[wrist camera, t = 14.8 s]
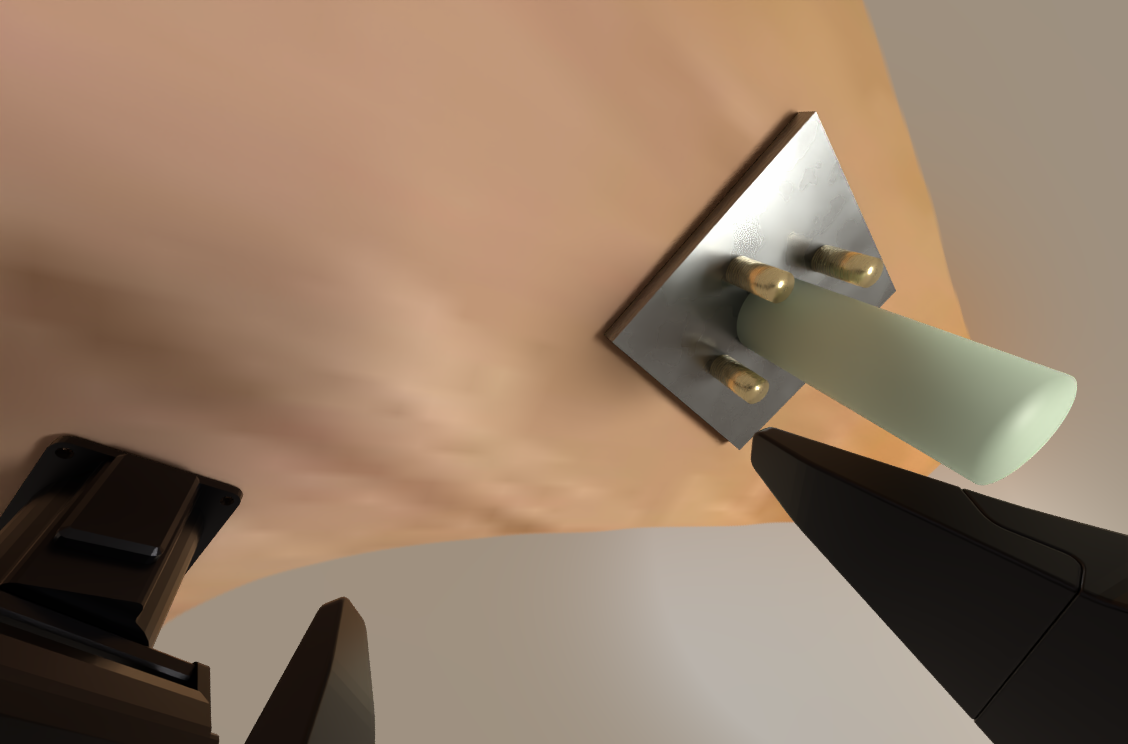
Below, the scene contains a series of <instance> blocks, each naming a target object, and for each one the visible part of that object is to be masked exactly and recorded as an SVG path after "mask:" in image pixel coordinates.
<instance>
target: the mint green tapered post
mask: <svg viewBox="0 0 1128 744" xmlns="http://www.w3.org/2000/svg"><path fill="white" fill-rule="evenodd" d="M794 279H795V283H794V288H793V290H792V292H791V294H790V295H789V296H788V297H787V298H786V299H785V300H784V301H782V302H780V303H772V302H770V301H768V300H766V299H763V298H761V297H759V296H757V295H754V294H752V293H750V294H749V295H748V297H747V298H746V300H745V301H744V303H743V305H742V307H741V309H740V312H739V315H738V319H737V335H738V338H739V340H740V342H741V343H742V344H743V345H744V346H745V347H746V348H748V349H750V350H751V351H753V352H755V353H756V354H758V355H760V356H762V357H763V358H765V359H767V360H768V361H770V362H772V363H773V364H775V365H777V366H778V367H780V368H782V369H783V370H785V371H787V372H788V373H790V374H792V375H793V376H795V377H797V378H799V379H800V380H802V381H804V382H805V383H807V384H809V385H810V386H812V387H814V388H815V389H817V390H819V391H820V392H822V393H824V394H825V395H827V396H829V397H830V398H832V399H834V400H836V401H837V402H839V403H841V404H842V405H844V406H846V407H847V408H849V409H851V410H852V411H854V412H856V413H857V414H859V415H861V416H862V417H864V418H866V419H867V420H869V421H871V422H873V423H874V424H876V425H878V426H879V427H881V428H883V429H884V430H886V431H888V432H889V433H891V434H893V435H894V436H896V437H898V438H899V439H901V440H903V441H904V442H906V443H908V444H909V445H911V446H913V447H915V448H916V449H918V450H920V451H921V452H923V453H925V454H926V455H928V456H930V457H931V458H933V459H935V460H936V461H938V462H940V463H941V464H943V465H945V466H946V467H948V468H950V469H952V470H953V471H955V472H957V473H958V474H960V475H962V476H963V477H965V478H967V479H968V480H970V481H972V482H973V483H975V484H978V485H988V484H991V483H994V482H997V481H999V480H1001V479H1003V478H1005V477H1006V476H1008V475H1010V474H1011V473H1013V472H1014V471H1016V470H1017V469H1018V468H1020V467H1021V466H1022V465H1023V464H1025V463H1026V462H1027V461H1028V460H1029V459H1030V458H1032V457H1033V456H1034V455H1035V454H1036V453H1037V452H1038V451H1039V450H1040V449H1041V448H1042V447H1043V446H1044V445H1045V444H1046V442H1047V441H1048V440H1049V439H1050V437H1052V435H1053V434H1054V433H1055V432H1056V430H1057V429H1058V428H1059V426H1060V425H1061V423H1062V422H1063V420H1064V419H1065V417H1066V416H1067V414H1068V412H1069V410H1070V408H1071V406H1072V404H1073V402H1074V399H1075V396H1076V391H1077V382H1076V380H1075V378H1074V377H1073V376H1071V375H1068V374H1065V373H1062V372H1059V371H1057V370H1054V369H1051V368H1048V367H1045V366H1043V365H1040V364H1036V363H1034V362H1031V361H1028V360H1026V359H1023V358H1020V357H1017V356H1014V355H1011V354H1009V353H1006V352H1003V351H1000V350H997V349H994V348H992V347H989V346H986V345H983V344H980V343H977V342H974V341H972V340H969V339H966V338H963V337H961V336H958V335H955V334H952V333H949V332H946V331H944V330H941V329H938V328H935V327H932V326H929V325H927V324H924V323H921V322H918V321H915V320H912V319H910V318H907V317H904V316H901V315H898V314H896V313H893V312H890V311H887V310H884V309H881V308H879V307H876V306H873V305H870V304H867V303H864V302H862V301H859V300H856V299H853V298H850V297H847V296H845V295H842V294H839V293H836V292H833V291H830V290H828V289H825V288H822V287H819V286H816V285H814V284H811V283H808V282H805V281H802V280H799V279H797V278H794Z"/></svg>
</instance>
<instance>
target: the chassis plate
mask: <svg viewBox="0 0 1128 744" xmlns="http://www.w3.org/2000/svg"><path fill="white" fill-rule="evenodd" d="M794 278H797V279H799V280H802V281H805V282H808V283H811V284H814V285H816V286H819V287H822V288H825V289H828V290H830V291H833V292H836V293H839V294H842V295H845V296H847V297H850V298H853V299H856V300H859V301H862V302H864V303H867V304H870V305H873V306H876V307H879V308H880V307H881V306H882V305H883V304H884V303H885V302H886V300H887V299H888V298H889V297H890V296H891V295H892V294H893V293H894V292H895V291H896V290H895V288H894V285H893V283H892V281H891V279H890V276H889V274H888V272H887V270H886V267H885V265H884V263H883V261H882V258H881V256H880V254H879V252H878V249H877V247H876V245H875V243H874V240H873V238H872V236H871V234H870V231H869V229H868V227H867V225H866V223H865V220H864V218H863V216H862V214H861V211H860V209H859V207H858V205H857V202H856V200H855V198H854V196H853V193H852V191H851V189H850V187H849V184H848V182H847V180H846V178H845V175H844V173H843V171H842V169H841V166H840V164H839V162H838V160H837V157H836V155H835V153H834V151H833V148H832V146H831V144H830V142H829V139H828V137H827V135H826V133H825V130H824V128H823V126H822V124H821V121H820V119H819V117H818V115H817V113H816V111H814V112H799V113H798V114H797V115H796V116H795V117H794V118H793V119H792V121H791V122H790V123H789V124H788V125H787V126H786V127H785V129H784V130H783V131H782V132H781V133H780V134H779V135H778V137H777V138H776V139H775V140H774V141H773V142H772V143H771V145H770V146H769V147H768V148H767V149H766V150H765V151H764V153H763V154H762V155H761V156H760V157H759V158H758V159H757V161H756V162H755V163H754V164H753V165H752V166H751V167H750V169H749V170H748V171H747V172H746V173H745V174H744V175H743V177H742V178H741V179H740V180H739V181H738V182H737V183H736V185H735V186H734V187H733V188H732V189H731V190H730V191H729V193H728V194H727V195H726V196H725V197H724V198H723V199H722V201H721V202H720V203H719V204H718V205H717V206H716V207H715V209H714V210H713V211H712V212H711V213H710V214H709V215H708V216H707V218H706V219H705V220H704V221H703V222H702V223H701V224H700V226H699V227H698V228H697V229H696V230H695V231H694V232H693V234H692V235H691V236H690V237H689V238H688V239H687V240H686V242H685V243H684V244H683V245H682V246H681V247H680V248H679V250H678V251H677V252H676V253H675V254H674V255H673V256H672V258H671V259H670V260H669V261H668V262H667V263H666V264H665V266H664V267H663V268H662V269H661V270H660V271H659V272H658V274H657V275H656V276H655V277H654V278H653V279H652V280H651V282H650V283H649V284H648V285H647V286H646V287H645V288H644V290H643V291H642V292H641V293H640V294H639V295H638V296H637V298H636V299H635V300H634V301H633V302H632V303H631V304H630V306H629V307H628V308H627V309H626V310H625V311H624V312H623V314H622V315H621V316H620V317H619V318H618V319H617V320H616V322H615V323H614V324H613V325H612V326H611V327H610V328H609V330H608V331H607V332H606V333H605V334H604V335H605V336H606V337H607V338H608V339H609V340H611V341H612V342H613V343H614V344H615V345H616V346H617V347H619V348H620V349H621V350H622V351H623V352H624V353H626V354H627V355H628V356H629V357H630V358H632V359H633V360H634V361H635V362H636V363H637V364H639V365H640V366H641V367H642V368H643V369H645V370H646V371H647V372H648V373H649V374H650V375H652V376H653V377H654V378H655V379H656V380H658V381H659V382H660V383H661V384H662V385H663V386H665V387H666V388H667V389H668V390H669V391H671V392H672V393H673V394H674V395H675V396H676V397H678V398H679V399H680V400H681V401H682V402H683V403H685V404H686V405H687V406H688V407H689V408H691V409H692V410H693V411H694V412H695V413H696V414H698V415H699V416H700V417H701V418H702V419H704V420H705V421H706V422H707V423H708V424H709V425H711V426H712V427H713V428H714V429H715V430H717V431H718V432H719V433H720V434H721V435H722V436H724V437H725V438H726V439H727V440H728V441H730V442H731V443H732V444H733V445H734V446H735V447H737V448H738V449H739V450H740V449H741V448H742V447H743V446H744V445H745V444H746V443H747V442H748V441H749V440H750V439H751V438H752V437H753V435H754V434H755V433H756V432H757V431H759V430H760V429H761V428H762V427H763V426H764V425H765V424H766V423H767V422H768V421H769V420H770V419H771V418H772V417H773V416H774V414H775V413H776V412H777V411H778V410H779V409H780V408H781V407H782V406H783V405H784V404H785V403H786V402H787V401H788V400H789V399H790V398H791V397H792V396H793V395H794V394H795V393H796V392H797V391H798V390H799V389H800V388H801V387H802V386H803V385H804V384H805V382H804V381H802V380H800V379H799V378H797V377H795V376H793V375H792V374H790V373H788V372H787V371H785V370H783V369H782V368H780V367H778V366H777V365H775V364H773V363H772V362H770V361H768V360H767V359H765V358H763V357H762V356H760V355H758V354H756V353H755V352H753V351H751V350H750V349H748V348H746V347H745V346H744V345H743V344H742V343H741V342H740V340H739V338H738V335H737V319H738V315H739V312H740V309H741V307H742V305H743V303H744V301H745V300H746V298H747V297H748V295H749V294H750V293H752V294H754V295H757V296H759V297H761V298H763V299H766V300H768V301H770V302H772V303H780V302H782V301H784V300H785V299H786V298H787V297H788V296H789V295H790V294H791V292H792V290H793V288H794V283H795V279H794Z"/></svg>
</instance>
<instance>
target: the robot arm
mask: <svg viewBox="0 0 1128 744" xmlns="http://www.w3.org/2000/svg"><path fill="white" fill-rule="evenodd" d="M62 448H68V449H70V450H72V451H73V452H67V451H65V450H63V449H62ZM751 463H752V465H753V467H754V469H755V470H756V472H757V473H758V474H759V476H760V477H761V478H762V480H763V481H764V483H765V484H766V485H767V487H768V488H769V489H770V491H771V492H772V493H773V495H774V496H775V497H776V499H777V500H778V501H779V503H780V504H781V505H782V507H783V508H784V509H785V511H786V512H787V513H788V515H789V516H790V517H791V519H792V520H793V521H794V522H795V524H796V525H797V526H798V527H799V528H800V529H801V531H802V532H803V533H804V534H805V535H806V536H807V537H808V538H809V539H810V541H811V542H812V543H813V544H814V545H815V546H816V547H817V548H818V549H819V551H820V552H821V553H822V554H823V555H824V556H825V557H826V558H827V559H828V560H829V562H830V563H831V564H832V565H833V566H834V567H835V568H836V569H837V570H838V572H839V573H840V574H841V575H842V576H843V577H844V578H845V579H846V580H847V581H848V582H849V584H850V585H851V586H852V587H853V588H854V589H855V590H856V591H857V592H858V594H859V595H860V596H861V597H862V598H863V599H864V600H865V601H866V602H867V604H868V605H869V606H870V607H871V608H872V609H873V610H874V611H875V612H876V613H877V614H878V616H879V617H880V618H881V619H882V620H883V621H884V622H885V623H886V625H887V626H888V627H889V628H890V629H891V630H892V631H893V632H894V633H895V634H896V636H898V638H899V639H900V640H901V641H902V642H903V643H904V644H905V646H906V647H907V648H908V649H909V650H910V651H911V652H912V653H913V654H914V656H916V658H917V659H918V660H919V661H920V662H921V663H922V664H923V666H924V667H925V668H926V669H927V670H928V671H929V672H930V673H931V674H932V675H933V676H934V678H935V679H936V680H937V681H938V682H939V683H940V684H941V685H942V686H943V688H945V690H946V691H947V692H948V693H949V694H950V695H951V696H952V698H953V699H954V700H955V701H956V702H957V703H958V704H959V705H960V706H961V707H962V709H963V710H964V711H965V712H966V713H967V714H968V715H969V716H970V717H971V718H972V719H974V722H975V723H976V724H977V726H978V727H979V728H980V729H981V730H982V731H983V732H984V733H985V734H986V736H987V737H988V738H989V739H990V740H991V741H992V742H993V743H994V744H1128V535H1125V534H1122V533H1118V532H1114V531H1110V530H1107V529H1103V528H1099V527H1095V526H1091V525H1088V524H1084V523H1080V522H1076V521H1073V520H1069V519H1065V518H1061V517H1058V516H1054V515H1050V514H1047V513H1043V512H1040V511H1036V510H1032V509H1029V508H1025V507H1022V506H1019V505H1015V504H1012V503H1009V502H1006V501H1002V500H999V499H996V498H992V497H989V496H986V495H983V494H980V493H977V492H974V491H971V490H967V489H961V488H960V487H958V486H954V485H951V484H948V483H945V482H942V481H939V480H936V479H932V478H930V477H927V476H923V475H920V474H917V473H914V472H911V471H908V470H905V469H902V468H898V467H895V466H892V465H889V464H886V463H883V462H880V461H877V460H874V459H870V458H867V457H864V456H861V455H858V454H855V453H852V452H849V451H846V450H842V449H839V448H836V447H833V446H830V445H827V444H824V443H821V442H817V441H814V440H811V439H808V438H805V437H802V436H799V435H796V434H793V433H789V432H786V431H783V430H780V429H777V428H773V427H768V428H765V429H763V430H760V431H757V432H756V433H755V434H754V435H753V440H752V450H751ZM224 497H231V498H233V499H226V498H224ZM242 497H243V493H242V491H241V490H240V489H239V488H237V487H234V486H231V485H228V484H224V483H221V482H218V481H215V480H212V479H208V478H205V477H202V476H199V475H196V474H193V473H189V472H186V471H183V470H180V469H177V468H173V467H170V466H167V465H164V464H161V463H157V462H154V461H151V460H148V459H145V458H141V457H138V456H135V455H132V454H129V453H126V452H122V451H119V450H116V449H113V448H110V447H106V446H103V445H100V444H97V443H94V442H90V441H87V440H84V439H81V438H78V437H73V436H63V437H60V438H57V439H56V440H55V441H54V442H53V443H52V444H51V445H50V446H48V447H47V449H46V450H45V452H44V453H43V455H42V456H41V458H40V459H39V461H38V462H37V463H36V465H35V466H34V468H33V469H32V471H31V472H30V474H29V475H28V477H27V478H26V480H25V481H24V483H23V484H22V486H21V487H20V489H19V490H18V492H17V493H16V495H15V496H14V498H13V499H12V501H11V502H10V504H9V505H8V507H7V508H6V510H5V511H4V513H3V514H2V516H1V517H0V744H219V736H218V735H217V734H214V733H211V728H212V727H211V701H210V667H209V666H206V665H204V664H201V663H199V662H194V663H189V662H187V661H184V660H181V659H179V658H176V657H173V656H171V655H168V654H166V653H163V652H161V651H158V650H156V649H153V646H154V644H155V641H156V639H157V637H158V634H159V632H160V630H161V628H162V625H163V623H164V621H165V618H166V616H167V614H168V612H169V609H170V607H171V605H172V602H173V600H174V598H175V596H176V593H177V591H178V589H179V586H180V584H181V582H182V580H183V577H184V575H185V574H186V573H187V571H188V570H189V569H190V568H191V566H192V565H193V564H194V562H195V561H196V560H197V558H198V557H199V556H200V555H201V553H202V552H203V551H204V549H205V548H206V547H207V546H208V544H209V543H210V542H211V540H212V539H213V538H214V537H215V535H216V534H217V533H218V531H219V530H220V529H221V528H222V526H223V525H224V524H225V522H226V521H227V520H228V519H229V517H230V516H231V515H232V513H233V512H234V511H235V510H236V508H237V507H238V506H239V504H240V502H241V499H242ZM245 744H375V715H374V702H373V692H372V681H371V671H370V661H369V652H368V641H367V631H366V626H365V623H364V620H363V619H362V617H361V616H360V614H359V613H358V611H357V610H356V609H355V607H354V606H353V605H352V603H351V602H350V600H349V599H348V598H346V597H340V598H338V599H335V600H333V601H330V602H328V603H325V604H324V605H322V606H321V607H320V608H319V610H318V612H317V613H316V615H315V617H314V619H313V621H312V622H311V624H310V626H309V628H308V630H307V631H306V633H305V635H304V637H303V639H302V641H301V642H300V644H299V646H298V648H297V649H296V651H295V653H294V655H293V657H292V659H291V660H290V662H289V664H288V666H287V668H286V670H285V671H284V673H283V675H282V677H281V679H280V680H279V682H278V684H277V686H276V687H275V689H274V691H273V693H272V695H271V696H270V698H269V700H268V702H267V704H266V706H265V708H264V709H263V711H262V713H261V715H260V716H259V718H258V720H257V722H256V724H255V725H254V727H253V729H252V731H251V733H250V735H249V736H248V738H247V740H246V742H245Z"/></svg>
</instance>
